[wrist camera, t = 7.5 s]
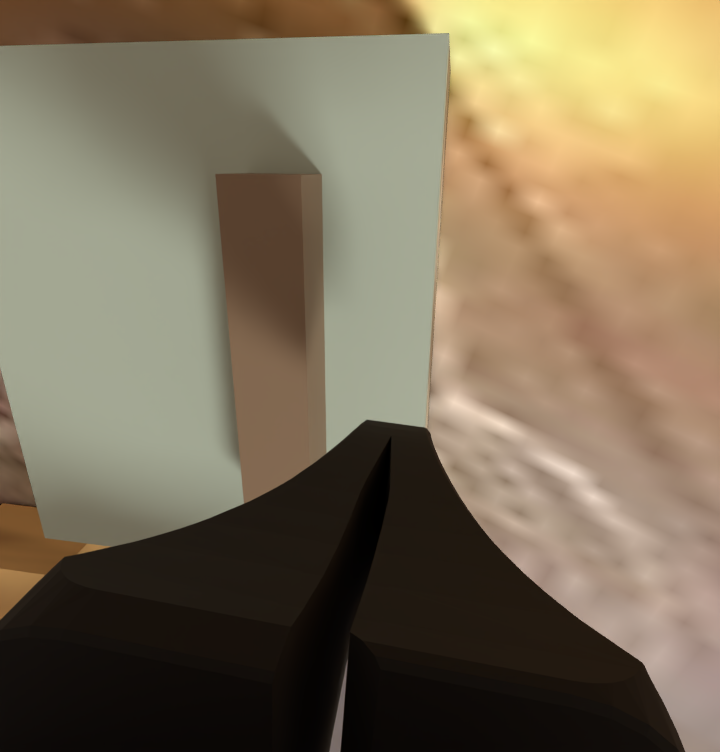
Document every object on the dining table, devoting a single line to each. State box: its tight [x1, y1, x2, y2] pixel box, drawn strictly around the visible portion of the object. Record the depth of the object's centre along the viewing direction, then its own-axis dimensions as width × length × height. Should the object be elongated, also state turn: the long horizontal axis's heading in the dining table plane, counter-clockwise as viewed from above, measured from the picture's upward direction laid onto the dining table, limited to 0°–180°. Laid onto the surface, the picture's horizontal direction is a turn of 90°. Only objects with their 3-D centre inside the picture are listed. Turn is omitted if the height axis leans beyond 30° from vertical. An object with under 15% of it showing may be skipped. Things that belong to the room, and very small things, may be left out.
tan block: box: [0, 503, 110, 620], centre depth 25 cm, size 5×6×4 cm
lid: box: [0, 33, 449, 547], centre depth 15 cm, size 16×14×3 cm
